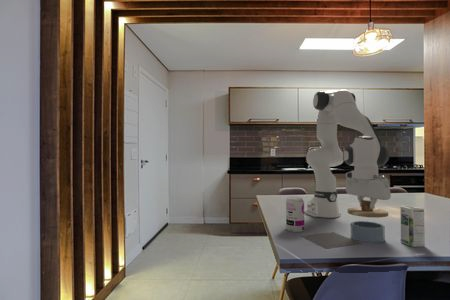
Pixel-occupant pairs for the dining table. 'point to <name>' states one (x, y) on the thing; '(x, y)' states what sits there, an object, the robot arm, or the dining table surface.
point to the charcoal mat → (330, 240)
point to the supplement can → (295, 214)
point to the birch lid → (367, 210)
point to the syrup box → (412, 226)
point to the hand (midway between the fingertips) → (367, 207)
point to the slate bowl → (367, 231)
